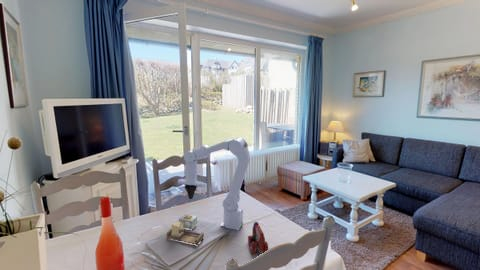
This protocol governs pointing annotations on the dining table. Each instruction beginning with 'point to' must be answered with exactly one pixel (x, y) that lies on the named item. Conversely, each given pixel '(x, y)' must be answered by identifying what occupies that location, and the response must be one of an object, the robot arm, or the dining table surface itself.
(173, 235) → the block
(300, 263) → the dining table surface
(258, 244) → the toy fire truck
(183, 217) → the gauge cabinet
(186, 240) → the rail deck
